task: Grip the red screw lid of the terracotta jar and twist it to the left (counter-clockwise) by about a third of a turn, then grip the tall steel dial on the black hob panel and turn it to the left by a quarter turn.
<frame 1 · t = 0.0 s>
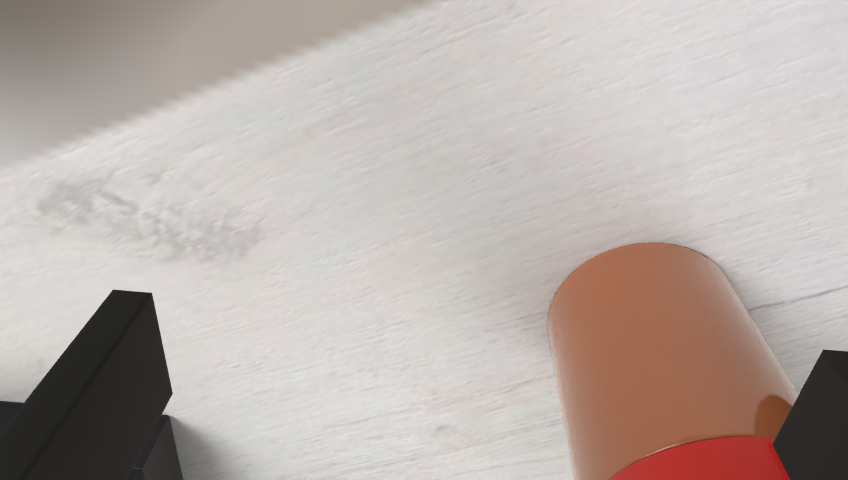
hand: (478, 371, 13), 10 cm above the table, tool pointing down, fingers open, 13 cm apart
jar: (638, 318, 25), on the table
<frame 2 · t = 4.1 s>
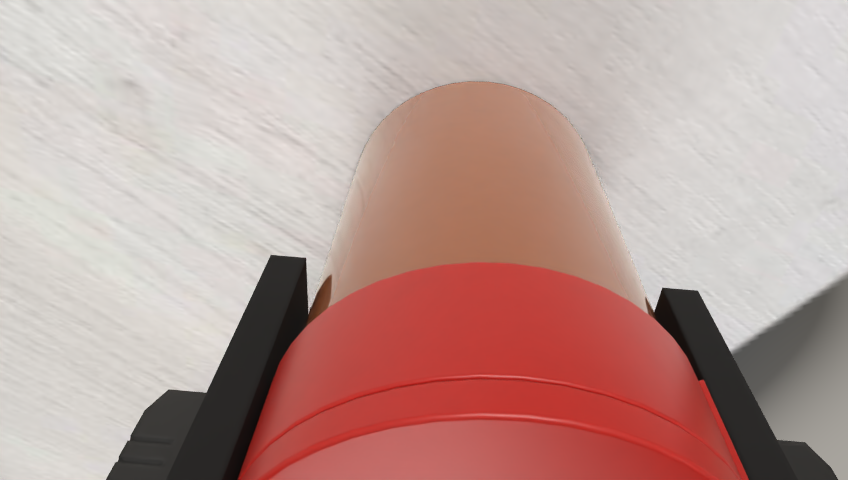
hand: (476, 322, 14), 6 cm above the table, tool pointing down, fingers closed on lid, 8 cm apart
jar: (472, 196, 19), on the table
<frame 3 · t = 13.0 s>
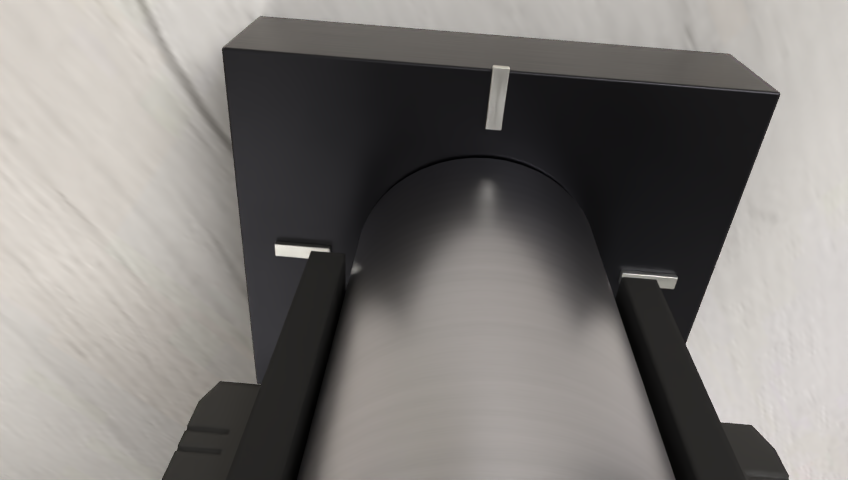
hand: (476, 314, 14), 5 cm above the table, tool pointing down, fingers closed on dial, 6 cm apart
dial: (479, 400, 12), point 8 cm above the table, hinge at 0.0°, touching gripper
hob panel: (473, 206, 19), on the table
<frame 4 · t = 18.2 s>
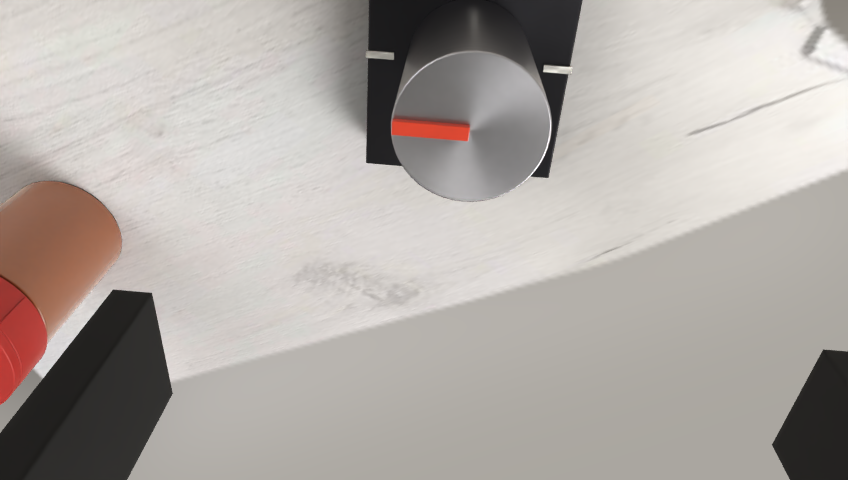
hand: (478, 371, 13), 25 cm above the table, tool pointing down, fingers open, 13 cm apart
dial: (469, 93, 27), point 8 cm above the table, hinge at 89.8°
hob panel: (468, 45, 34), on the table
jar: (67, 229, 41), on the table
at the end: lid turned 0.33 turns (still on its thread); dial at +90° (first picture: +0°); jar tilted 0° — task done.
